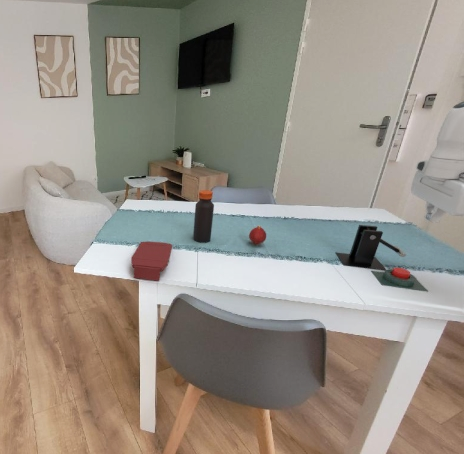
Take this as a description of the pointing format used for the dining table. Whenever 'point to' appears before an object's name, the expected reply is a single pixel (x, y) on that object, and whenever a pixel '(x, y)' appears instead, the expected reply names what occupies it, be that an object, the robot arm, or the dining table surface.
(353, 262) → the switch bracket
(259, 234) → the onion
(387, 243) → the switch lever
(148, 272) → the red lidded container
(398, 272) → the button
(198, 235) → the vinegar
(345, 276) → the dining table surface
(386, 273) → the button panel
